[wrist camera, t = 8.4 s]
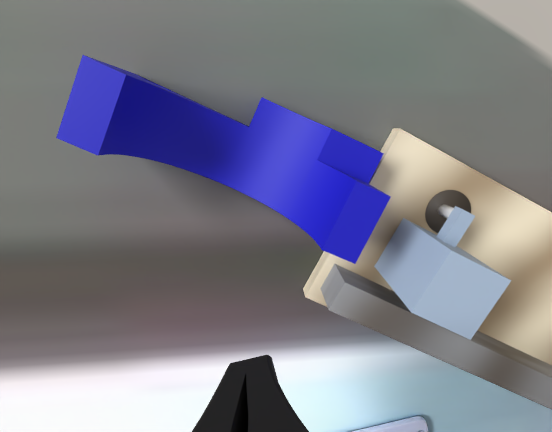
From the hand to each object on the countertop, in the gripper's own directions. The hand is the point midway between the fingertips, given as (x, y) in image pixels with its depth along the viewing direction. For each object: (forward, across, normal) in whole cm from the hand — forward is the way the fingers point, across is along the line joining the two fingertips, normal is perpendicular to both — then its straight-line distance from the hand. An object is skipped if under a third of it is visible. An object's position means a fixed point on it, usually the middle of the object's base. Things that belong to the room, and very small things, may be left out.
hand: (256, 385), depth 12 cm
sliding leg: (+8, -9, 0) cm, 12 cm away
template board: (+9, -14, +5) cm, 18 cm away
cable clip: (+10, -1, -7) cm, 12 cm away
